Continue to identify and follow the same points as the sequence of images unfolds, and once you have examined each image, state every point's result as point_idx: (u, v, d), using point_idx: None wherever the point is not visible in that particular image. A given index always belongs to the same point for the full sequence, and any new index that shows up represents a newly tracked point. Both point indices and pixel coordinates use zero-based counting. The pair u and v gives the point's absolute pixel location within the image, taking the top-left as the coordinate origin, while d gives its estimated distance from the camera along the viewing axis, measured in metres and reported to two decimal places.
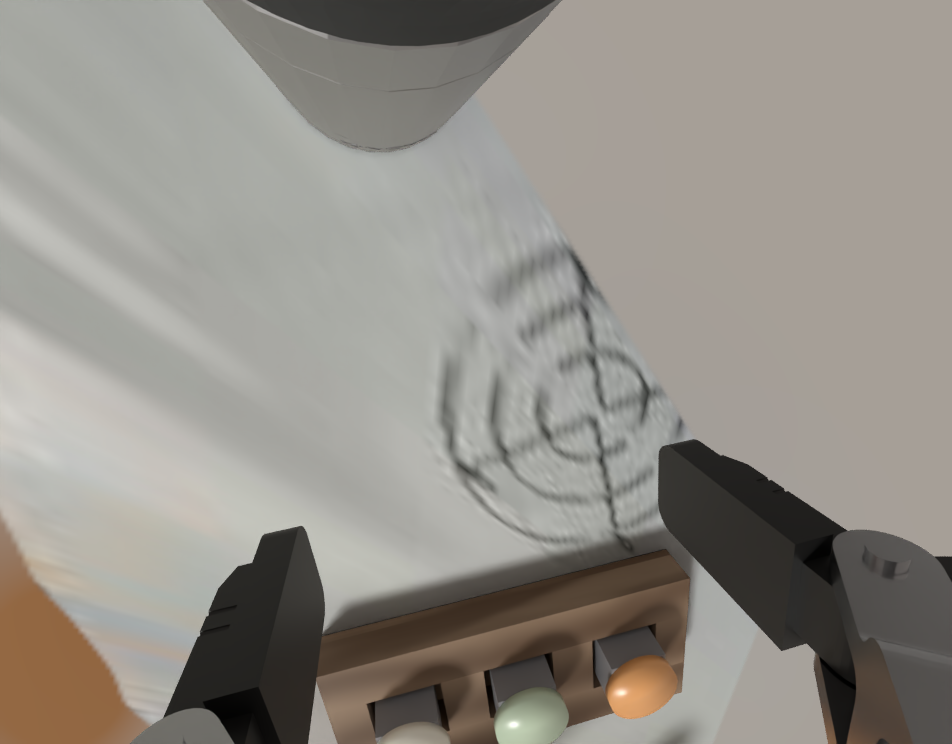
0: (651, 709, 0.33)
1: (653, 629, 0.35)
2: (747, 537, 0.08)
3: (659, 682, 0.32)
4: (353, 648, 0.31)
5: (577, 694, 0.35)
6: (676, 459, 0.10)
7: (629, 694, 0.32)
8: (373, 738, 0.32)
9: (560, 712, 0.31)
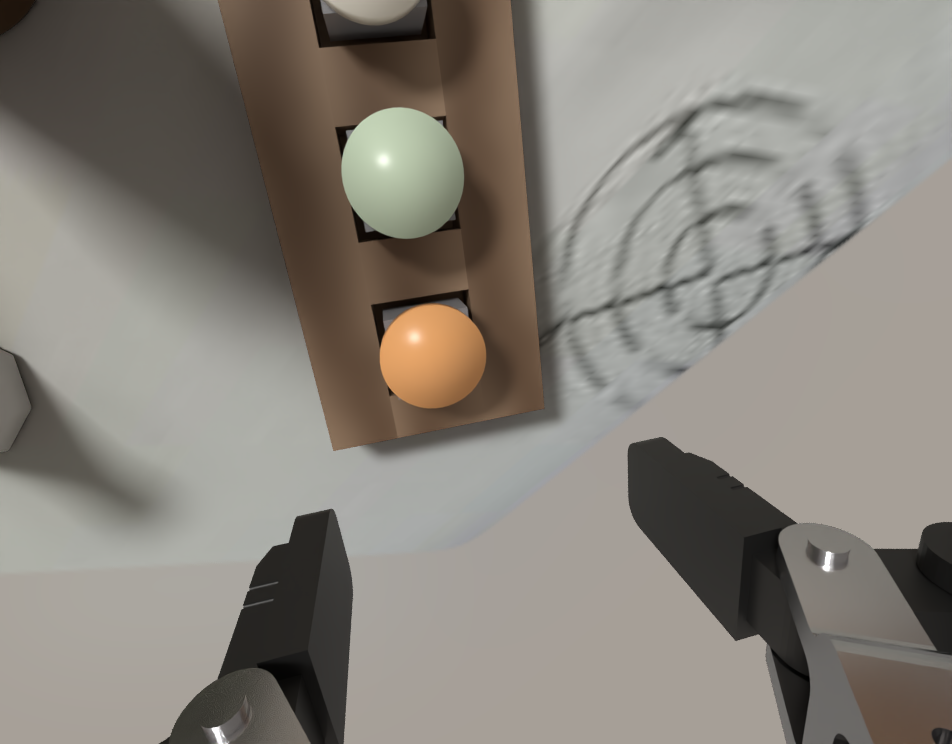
0: (394, 378, 0.22)
1: None
2: (704, 531, 0.08)
3: (449, 378, 0.22)
4: None
5: (362, 279, 0.23)
6: (643, 455, 0.10)
7: (435, 335, 0.22)
8: None
9: (425, 222, 0.20)
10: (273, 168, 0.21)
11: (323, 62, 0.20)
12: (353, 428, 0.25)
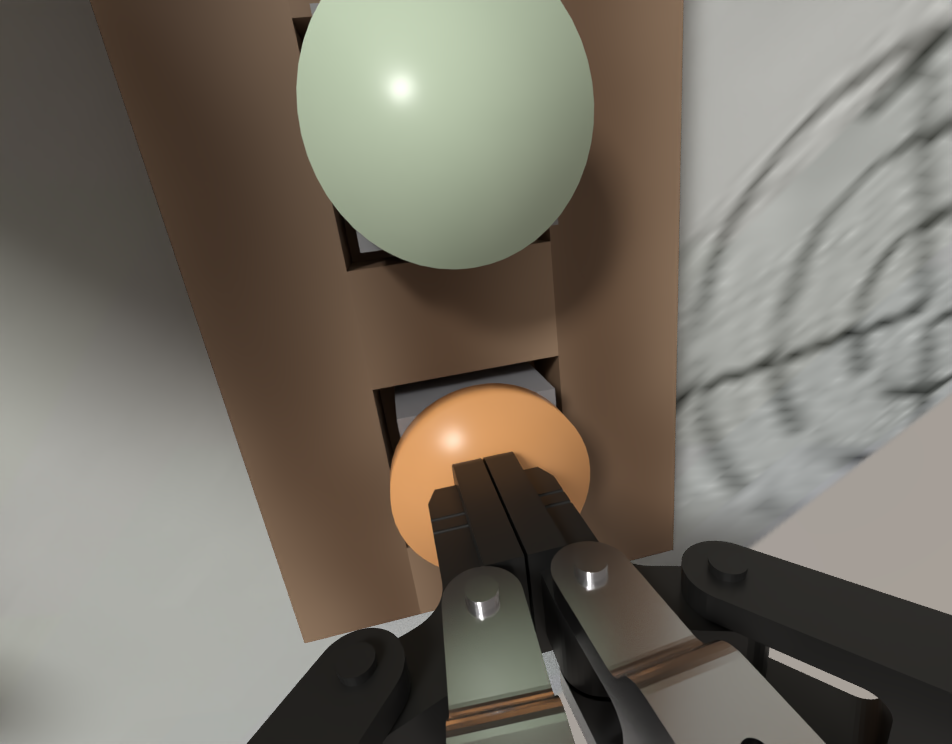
0: (418, 527, 0.11)
1: None
2: None
3: None
4: None
5: (356, 343, 0.12)
6: (487, 470, 0.11)
7: (499, 448, 0.11)
8: None
9: (498, 232, 0.09)
10: (156, 110, 0.09)
11: None
12: (340, 604, 0.14)
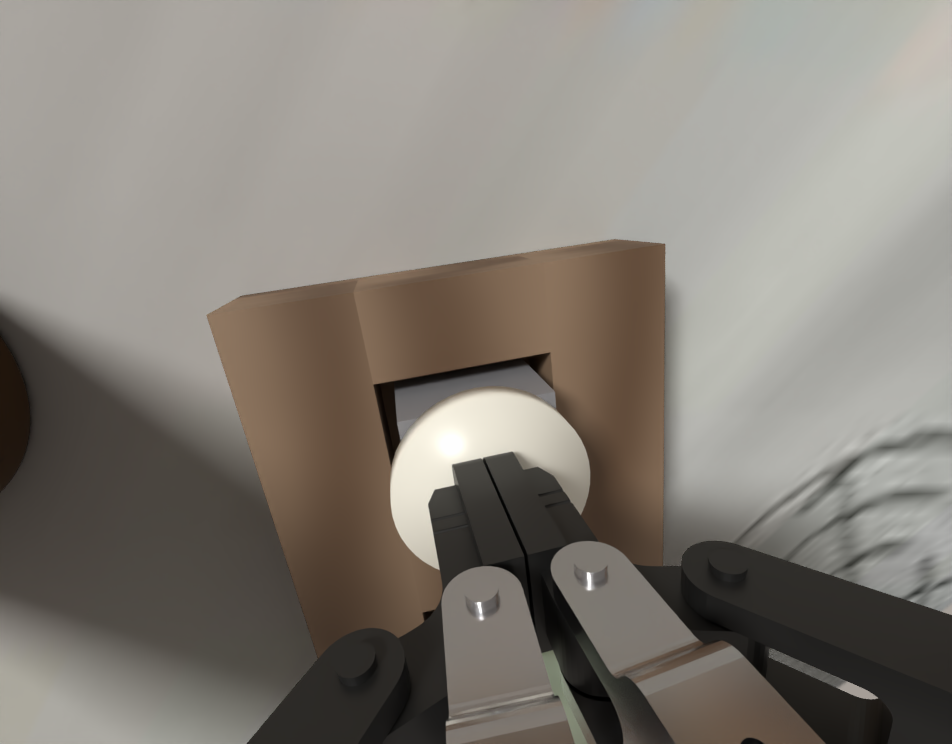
0: None
1: None
2: None
3: None
4: None
5: None
6: (488, 470, 0.11)
7: None
8: (426, 368, 0.13)
9: None
10: None
11: None
12: None
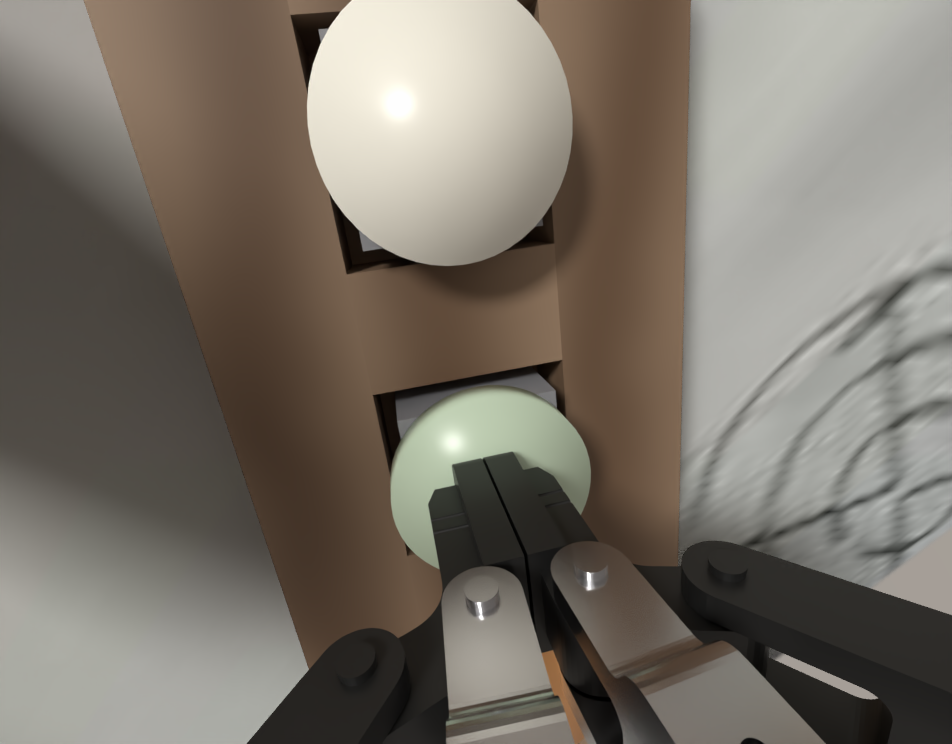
0: None
1: None
2: None
3: None
4: None
5: (412, 604, 0.14)
6: (487, 470, 0.11)
7: None
8: None
9: None
10: (264, 466, 0.12)
11: (354, 297, 0.11)
12: None
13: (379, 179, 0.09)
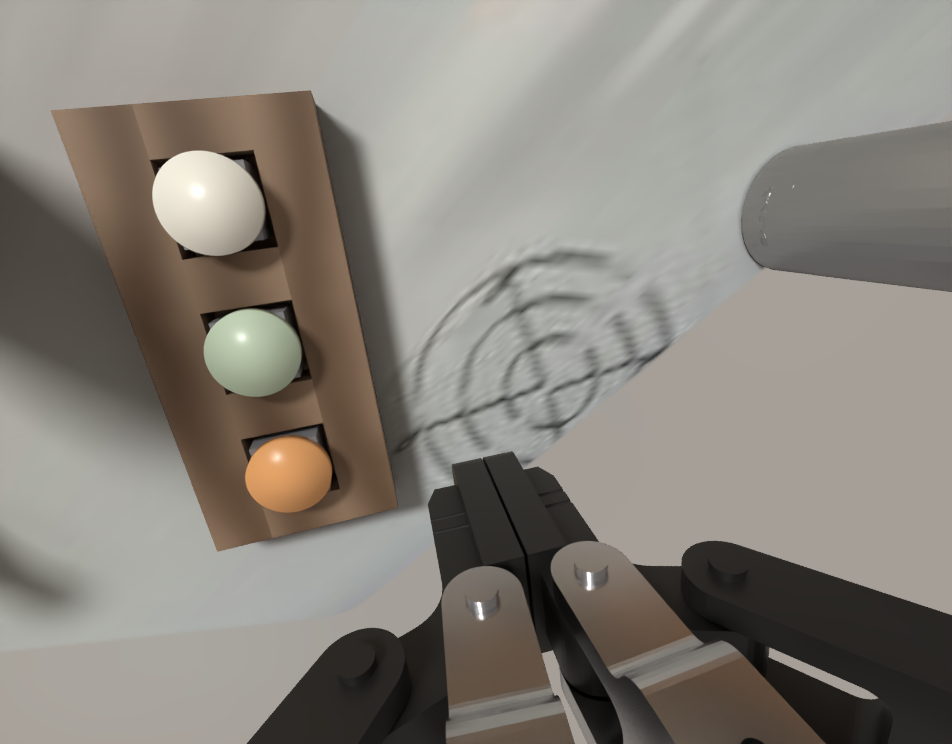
0: (258, 492, 0.29)
1: None
2: None
3: (303, 490, 0.29)
4: (322, 143, 0.27)
5: (232, 421, 0.29)
6: (488, 470, 0.11)
7: (289, 461, 0.29)
8: (180, 152, 0.24)
9: (272, 385, 0.27)
10: (150, 346, 0.26)
11: (186, 269, 0.26)
12: (233, 533, 0.31)
13: (183, 223, 0.24)
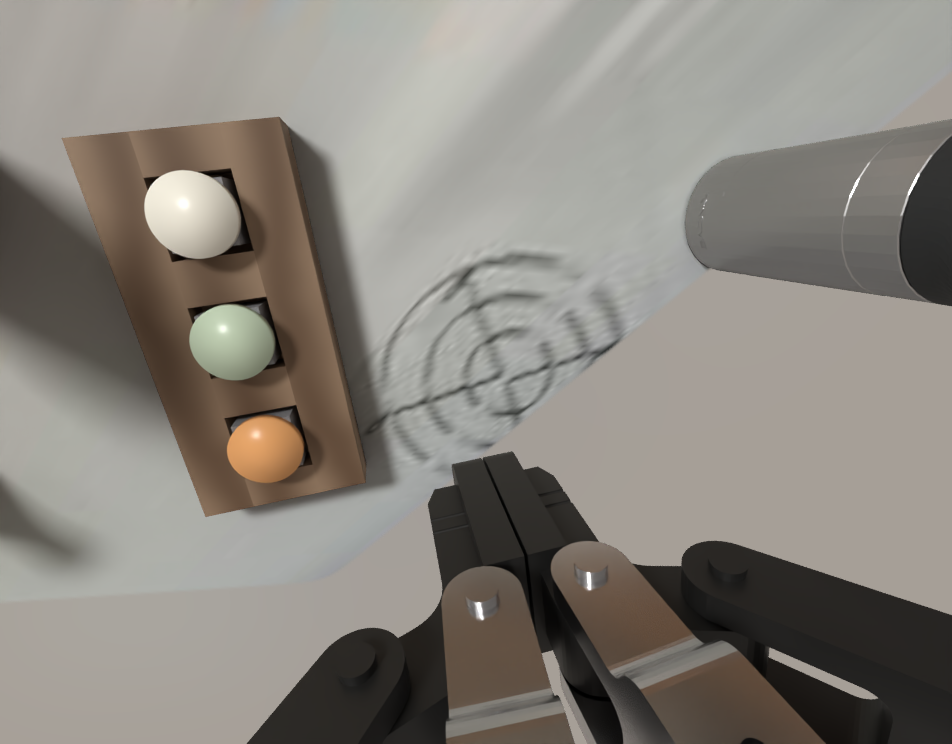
0: (238, 464, 0.33)
1: None
2: None
3: (278, 463, 0.34)
4: (292, 160, 0.31)
5: (216, 402, 0.33)
6: (488, 470, 0.11)
7: (265, 437, 0.33)
8: (168, 171, 0.28)
9: (249, 370, 0.31)
10: (146, 336, 0.31)
11: (175, 270, 0.30)
12: (219, 501, 0.35)
13: (170, 231, 0.28)
